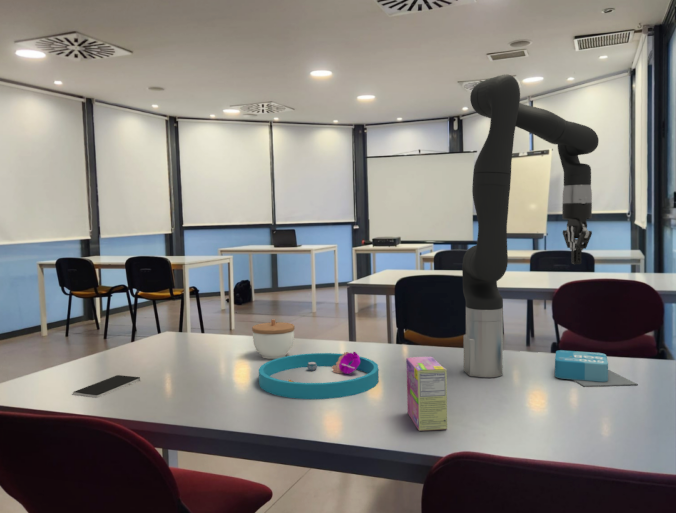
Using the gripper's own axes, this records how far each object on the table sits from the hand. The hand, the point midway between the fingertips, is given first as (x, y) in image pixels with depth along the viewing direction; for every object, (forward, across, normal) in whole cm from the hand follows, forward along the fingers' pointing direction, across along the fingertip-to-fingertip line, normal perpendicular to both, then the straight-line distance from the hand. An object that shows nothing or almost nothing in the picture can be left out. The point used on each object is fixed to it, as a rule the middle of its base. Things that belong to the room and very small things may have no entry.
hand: (576, 263), depth 156 cm
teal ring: (+28, +14, -73) cm, 79 cm away
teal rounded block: (+24, +11, -4) cm, 27 cm away
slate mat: (+27, +19, -4) cm, 33 cm away
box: (+27, +45, -52) cm, 74 cm away
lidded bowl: (+27, -13, -86) cm, 91 cm away
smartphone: (+28, +15, -125) cm, 129 cm away
